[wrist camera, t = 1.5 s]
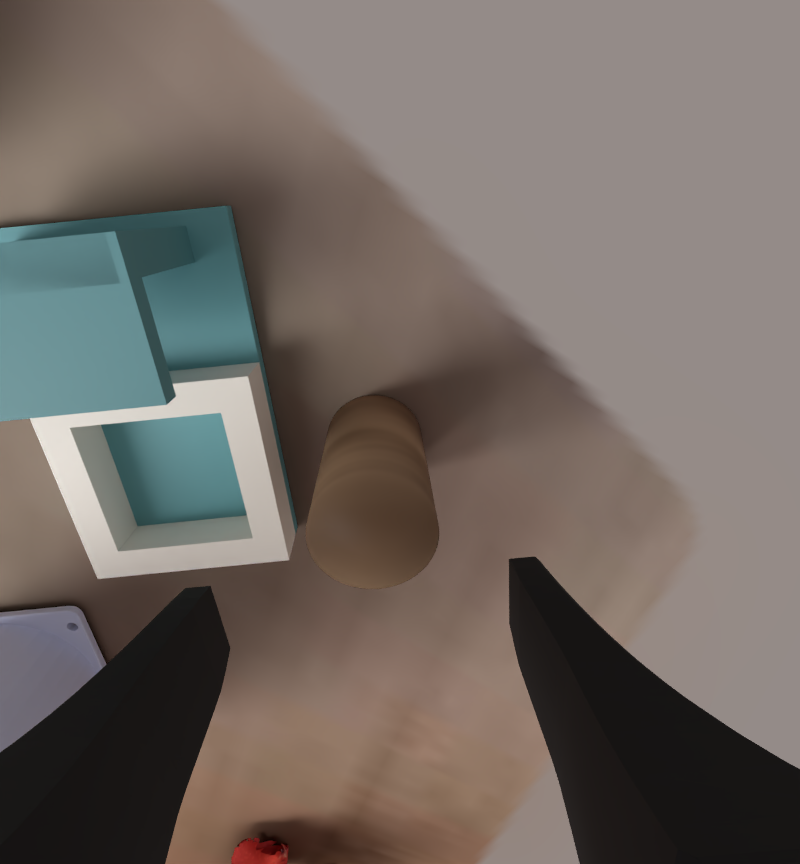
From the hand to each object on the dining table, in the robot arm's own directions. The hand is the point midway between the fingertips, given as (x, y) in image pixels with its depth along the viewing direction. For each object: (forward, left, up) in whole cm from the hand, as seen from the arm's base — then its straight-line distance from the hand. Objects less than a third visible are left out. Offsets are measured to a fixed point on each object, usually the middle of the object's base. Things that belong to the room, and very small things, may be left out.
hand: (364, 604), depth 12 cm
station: (+3, +8, -10) cm, 13 cm away
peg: (0, 0, -10) cm, 10 cm away
